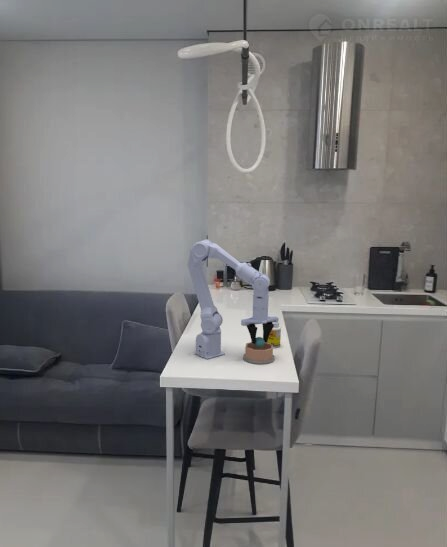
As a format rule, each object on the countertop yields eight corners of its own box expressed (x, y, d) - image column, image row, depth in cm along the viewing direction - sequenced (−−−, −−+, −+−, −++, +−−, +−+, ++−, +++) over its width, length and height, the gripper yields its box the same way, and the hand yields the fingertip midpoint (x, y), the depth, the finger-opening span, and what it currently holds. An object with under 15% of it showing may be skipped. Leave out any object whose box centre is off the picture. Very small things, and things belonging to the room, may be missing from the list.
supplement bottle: (263, 345, 189) (264, 321, 187) (273, 342, 192) (274, 319, 190) (272, 349, 184) (273, 324, 183) (282, 346, 188) (284, 322, 186)
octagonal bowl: (258, 366, 165) (258, 353, 164) (236, 357, 174) (236, 344, 173) (281, 359, 173) (281, 347, 172) (259, 351, 182) (259, 338, 181)
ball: (259, 349, 170) (259, 339, 169) (251, 346, 173) (251, 336, 172) (266, 347, 173) (267, 337, 172) (259, 344, 176) (259, 334, 175)
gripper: (247, 311, 164) (246, 347, 166) (282, 308, 169) (281, 343, 171) (239, 306, 170) (238, 341, 173) (274, 303, 175) (272, 338, 178)
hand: (259, 342), depth 172 cm, fingers open, 4 cm apart
